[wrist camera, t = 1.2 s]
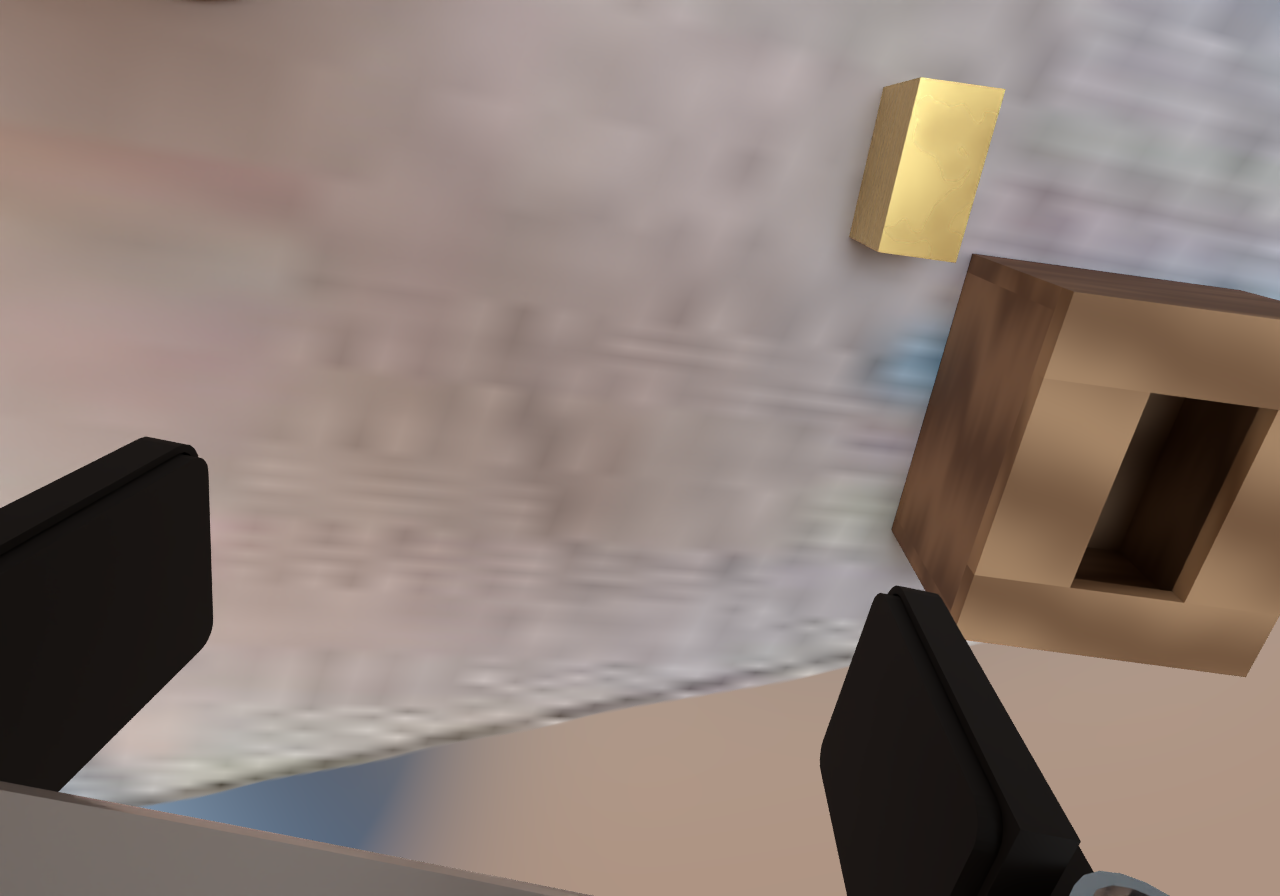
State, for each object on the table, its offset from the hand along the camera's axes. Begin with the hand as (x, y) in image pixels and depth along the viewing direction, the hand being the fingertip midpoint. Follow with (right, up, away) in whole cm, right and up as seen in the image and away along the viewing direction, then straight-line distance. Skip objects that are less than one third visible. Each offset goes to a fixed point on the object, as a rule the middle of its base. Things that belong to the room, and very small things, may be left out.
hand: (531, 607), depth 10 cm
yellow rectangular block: (+13, +14, +21) cm, 29 cm away
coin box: (+21, +4, +25) cm, 33 cm away
